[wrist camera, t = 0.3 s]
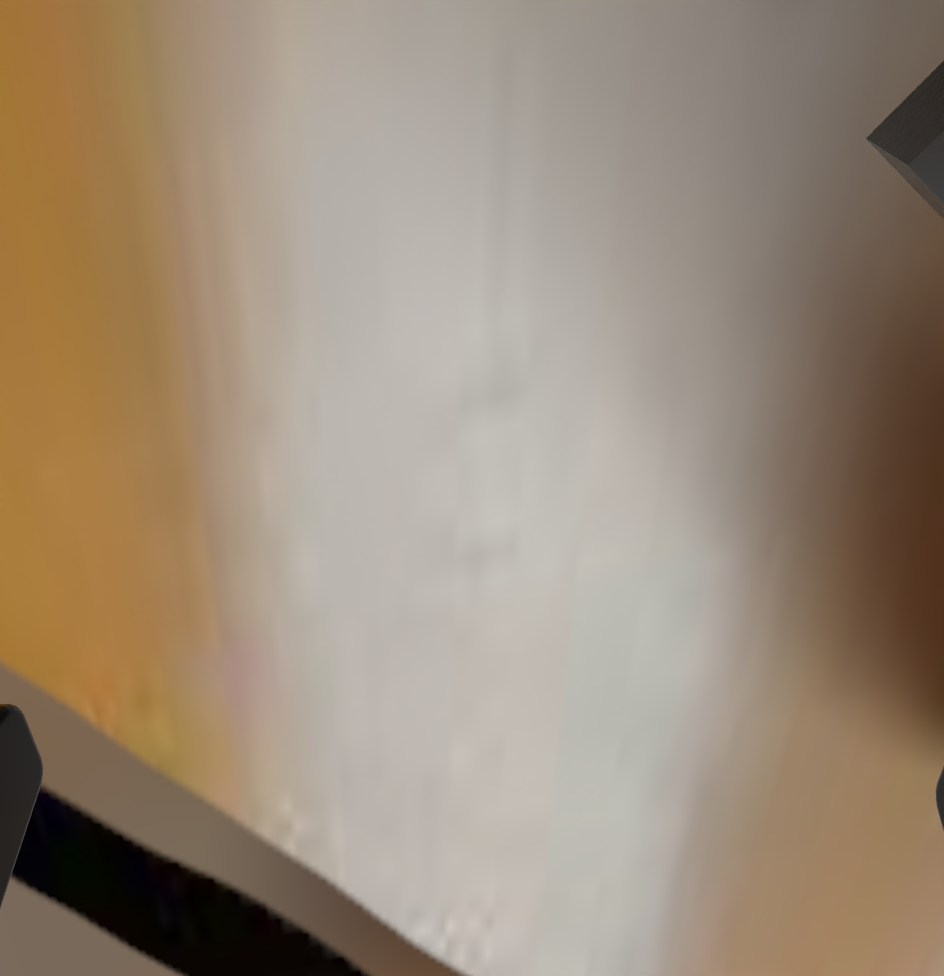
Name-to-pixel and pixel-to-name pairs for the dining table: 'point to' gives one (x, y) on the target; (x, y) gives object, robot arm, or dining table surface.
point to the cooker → (918, 139)
